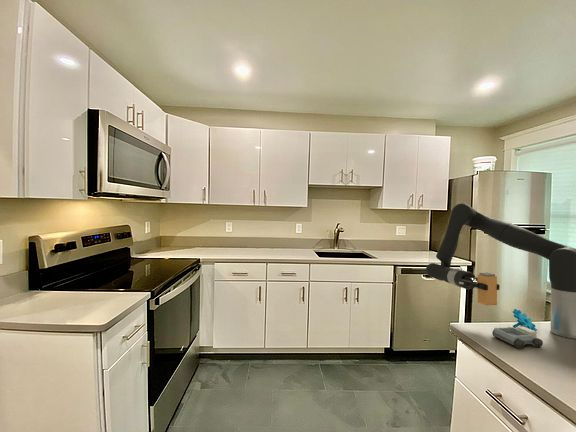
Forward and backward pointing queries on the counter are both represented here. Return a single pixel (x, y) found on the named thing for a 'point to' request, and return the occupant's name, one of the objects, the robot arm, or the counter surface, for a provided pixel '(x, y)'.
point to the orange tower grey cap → (488, 295)
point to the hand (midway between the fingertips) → (492, 287)
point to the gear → (523, 320)
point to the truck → (518, 336)
